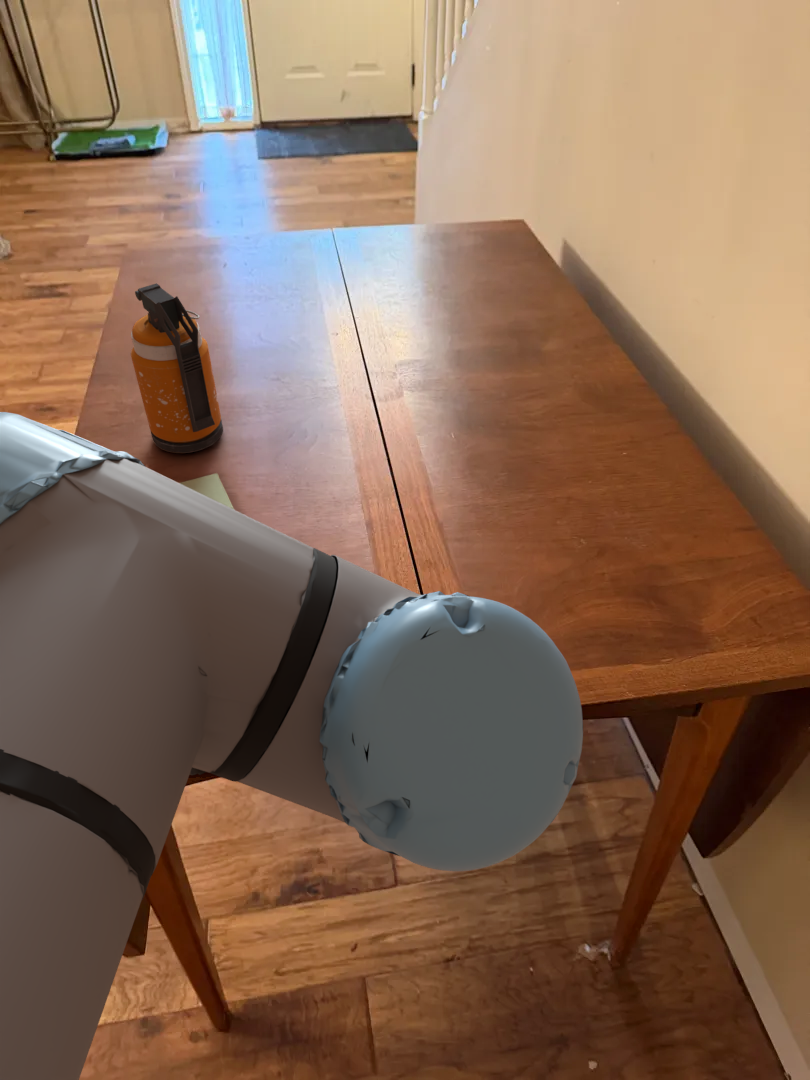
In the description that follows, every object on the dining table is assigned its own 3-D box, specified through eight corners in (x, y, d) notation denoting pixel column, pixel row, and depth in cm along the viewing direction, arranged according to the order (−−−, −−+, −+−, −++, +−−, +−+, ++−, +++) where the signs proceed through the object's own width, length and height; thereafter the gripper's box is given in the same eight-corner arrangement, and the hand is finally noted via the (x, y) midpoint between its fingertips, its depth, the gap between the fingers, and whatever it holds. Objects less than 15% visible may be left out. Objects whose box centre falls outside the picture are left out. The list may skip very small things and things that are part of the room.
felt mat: (137, 564, 84) (137, 564, 84) (117, 499, 92) (117, 499, 92) (245, 533, 88) (245, 532, 88) (216, 473, 96) (216, 473, 95)
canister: (202, 409, 106) (174, 267, 92) (245, 447, 99) (221, 300, 86) (141, 433, 101) (102, 287, 88) (181, 474, 95) (146, 324, 82)
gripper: (85, 923, 30) (102, 813, 50) (586, 662, 39) (432, 657, 59) (12, 745, 30) (58, 705, 50) (531, 524, 39) (395, 565, 59)
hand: (260, 679), depth 54 cm, fingers open, 13 cm apart
